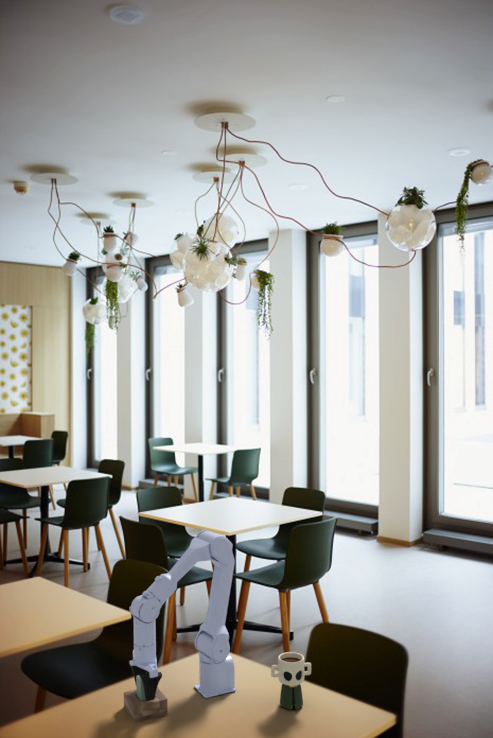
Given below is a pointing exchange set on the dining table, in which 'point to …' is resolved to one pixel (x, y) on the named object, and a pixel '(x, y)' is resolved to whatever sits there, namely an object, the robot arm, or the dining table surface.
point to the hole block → (145, 706)
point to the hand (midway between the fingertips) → (145, 693)
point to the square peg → (140, 689)
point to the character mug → (291, 678)
